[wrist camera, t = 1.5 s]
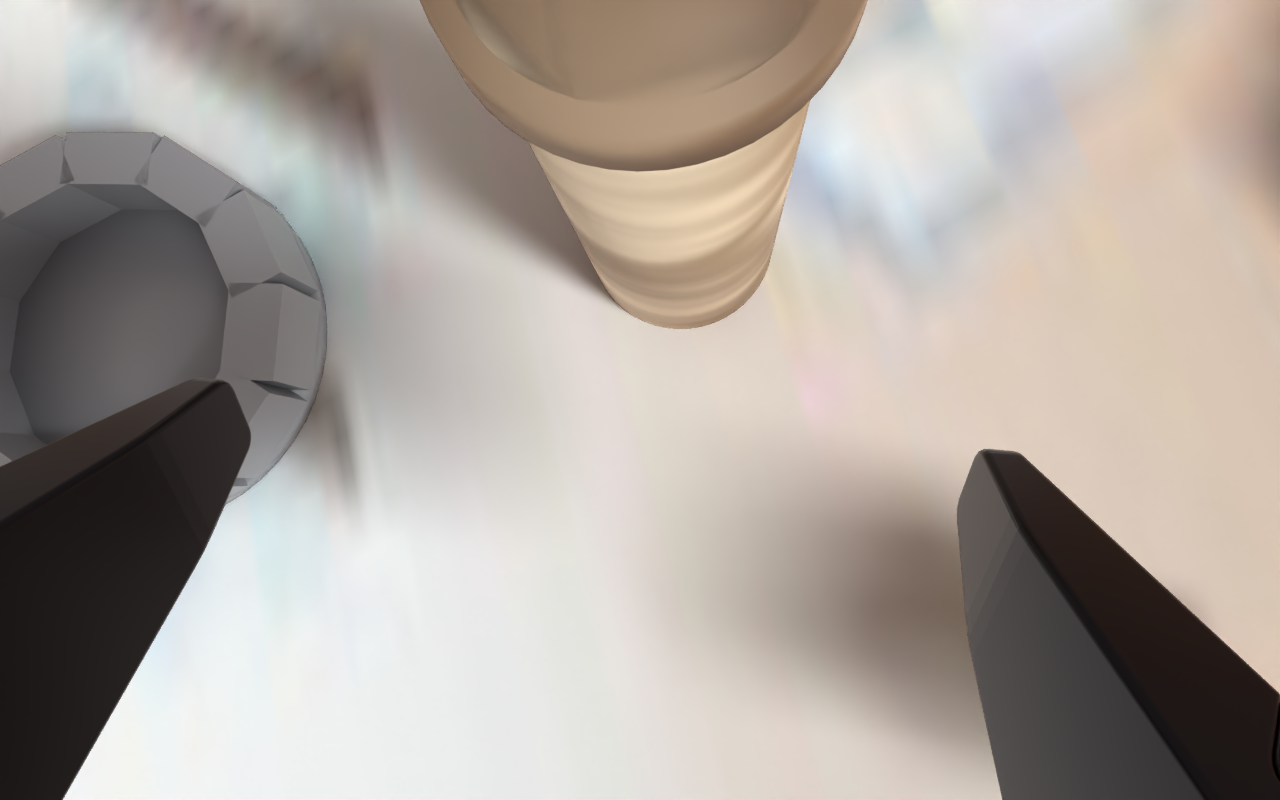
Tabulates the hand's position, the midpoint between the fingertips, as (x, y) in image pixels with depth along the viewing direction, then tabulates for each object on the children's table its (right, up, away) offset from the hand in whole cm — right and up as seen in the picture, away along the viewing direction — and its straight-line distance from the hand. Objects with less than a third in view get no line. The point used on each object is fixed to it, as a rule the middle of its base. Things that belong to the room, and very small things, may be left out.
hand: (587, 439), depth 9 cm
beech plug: (+2, +5, +13) cm, 14 cm away
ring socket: (-14, +2, +14) cm, 20 cm away
